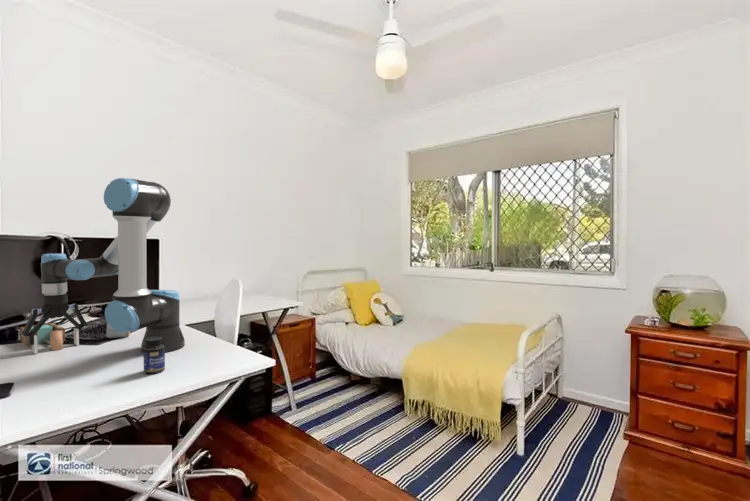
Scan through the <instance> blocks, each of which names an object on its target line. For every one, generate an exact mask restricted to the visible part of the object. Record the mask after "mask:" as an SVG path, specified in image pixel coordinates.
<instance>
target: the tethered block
mask: <svg viewBox="0 0 750 501" xmlns="http://www.w3.org/2000/svg"><path fill="white" fill-rule="evenodd" d="M32 329H33V327H31V329H30V330H32ZM38 344H39V345H40V344H47V345H50V351H52V352H53V351H60V350H63V349H64V348H63V347H64V346H63V345H64V343H63V338H62V330H56V331H53V327H52V326H50V325H43V326H42V327H41V328H40V329H39V330H38V332H37V345H38Z"/></svg>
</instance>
